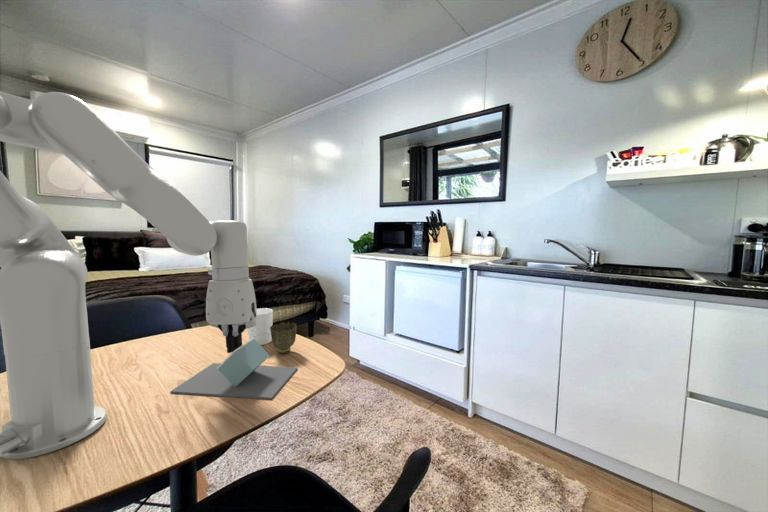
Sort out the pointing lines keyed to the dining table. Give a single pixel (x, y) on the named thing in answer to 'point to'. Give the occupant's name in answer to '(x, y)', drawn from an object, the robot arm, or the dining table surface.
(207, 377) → the rubber mat
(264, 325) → the white cup
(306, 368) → the dining table surface
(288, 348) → the cup
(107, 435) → the dining table surface
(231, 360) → the teal block
